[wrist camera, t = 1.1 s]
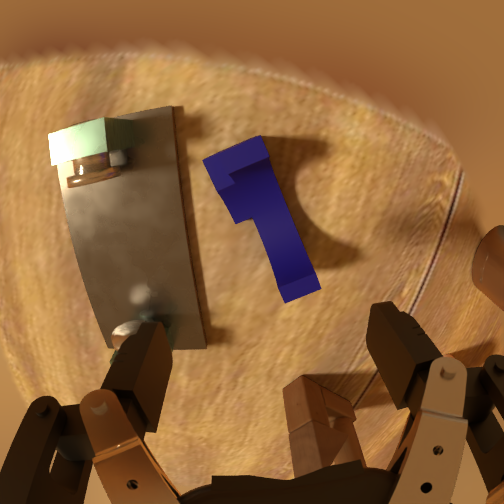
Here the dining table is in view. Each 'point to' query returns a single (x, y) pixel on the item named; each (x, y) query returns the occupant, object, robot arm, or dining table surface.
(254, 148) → the blue curved bracket
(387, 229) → the dining table surface
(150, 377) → the robot arm
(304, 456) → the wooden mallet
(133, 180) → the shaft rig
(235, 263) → the dining table surface
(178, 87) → the dining table surface
